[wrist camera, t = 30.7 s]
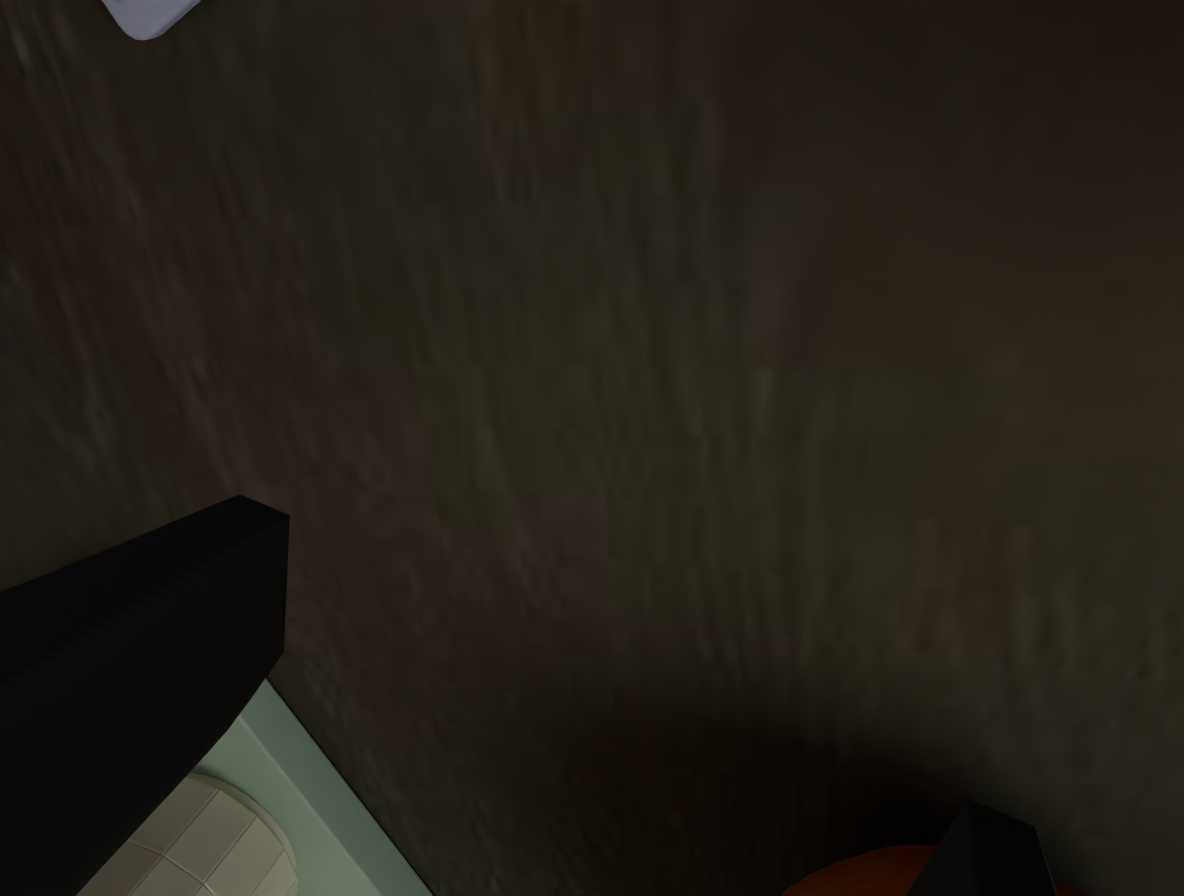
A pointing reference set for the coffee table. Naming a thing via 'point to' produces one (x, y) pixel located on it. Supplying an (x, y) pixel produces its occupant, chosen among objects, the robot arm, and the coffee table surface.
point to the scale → (308, 804)
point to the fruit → (876, 874)
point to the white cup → (202, 848)
